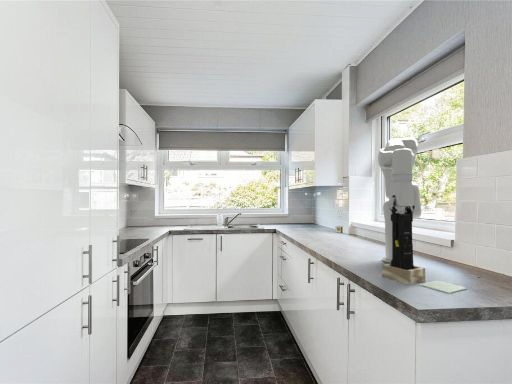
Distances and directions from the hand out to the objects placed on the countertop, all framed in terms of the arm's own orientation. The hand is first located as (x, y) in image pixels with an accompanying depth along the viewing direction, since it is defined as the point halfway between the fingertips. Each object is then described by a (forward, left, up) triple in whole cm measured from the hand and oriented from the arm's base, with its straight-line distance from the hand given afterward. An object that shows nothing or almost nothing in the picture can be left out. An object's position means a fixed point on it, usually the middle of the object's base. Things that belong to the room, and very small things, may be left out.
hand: (402, 221), depth 120 cm
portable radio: (+1, 0, -20) cm, 20 cm away
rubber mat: (-3, +14, -23) cm, 27 cm away
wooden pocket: (0, 0, -23) cm, 23 cm away
